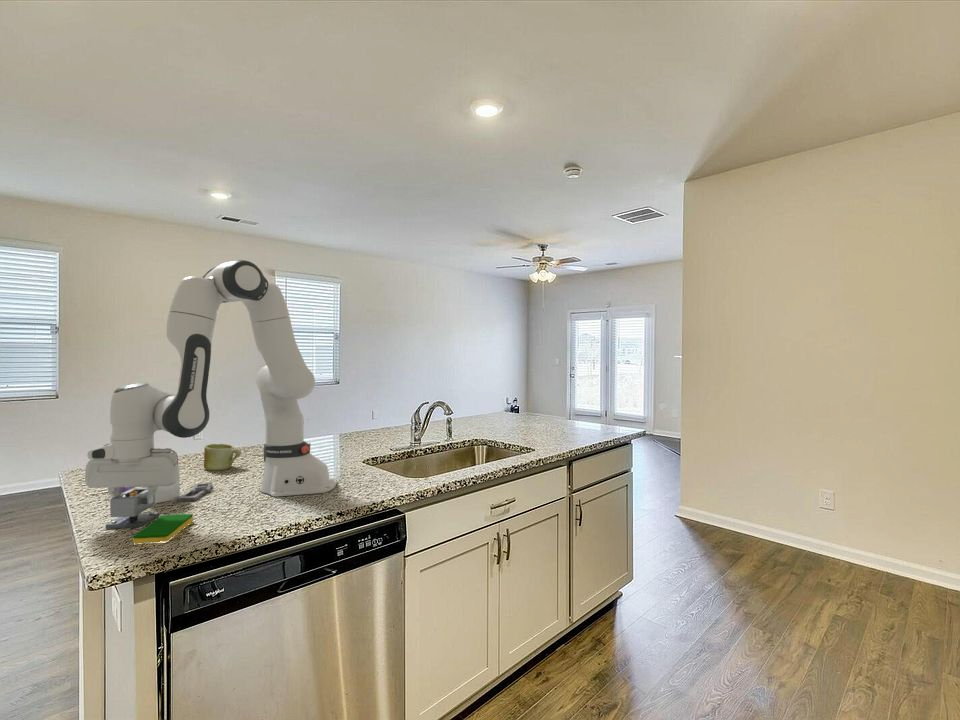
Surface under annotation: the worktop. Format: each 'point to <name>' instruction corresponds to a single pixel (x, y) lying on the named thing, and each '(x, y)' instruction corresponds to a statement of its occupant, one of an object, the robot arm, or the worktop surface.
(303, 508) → the worktop surface
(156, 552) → the worktop surface
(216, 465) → the mug
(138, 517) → the keeper
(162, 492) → the jar
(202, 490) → the chain tail
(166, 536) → the dish sponge
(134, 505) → the link
